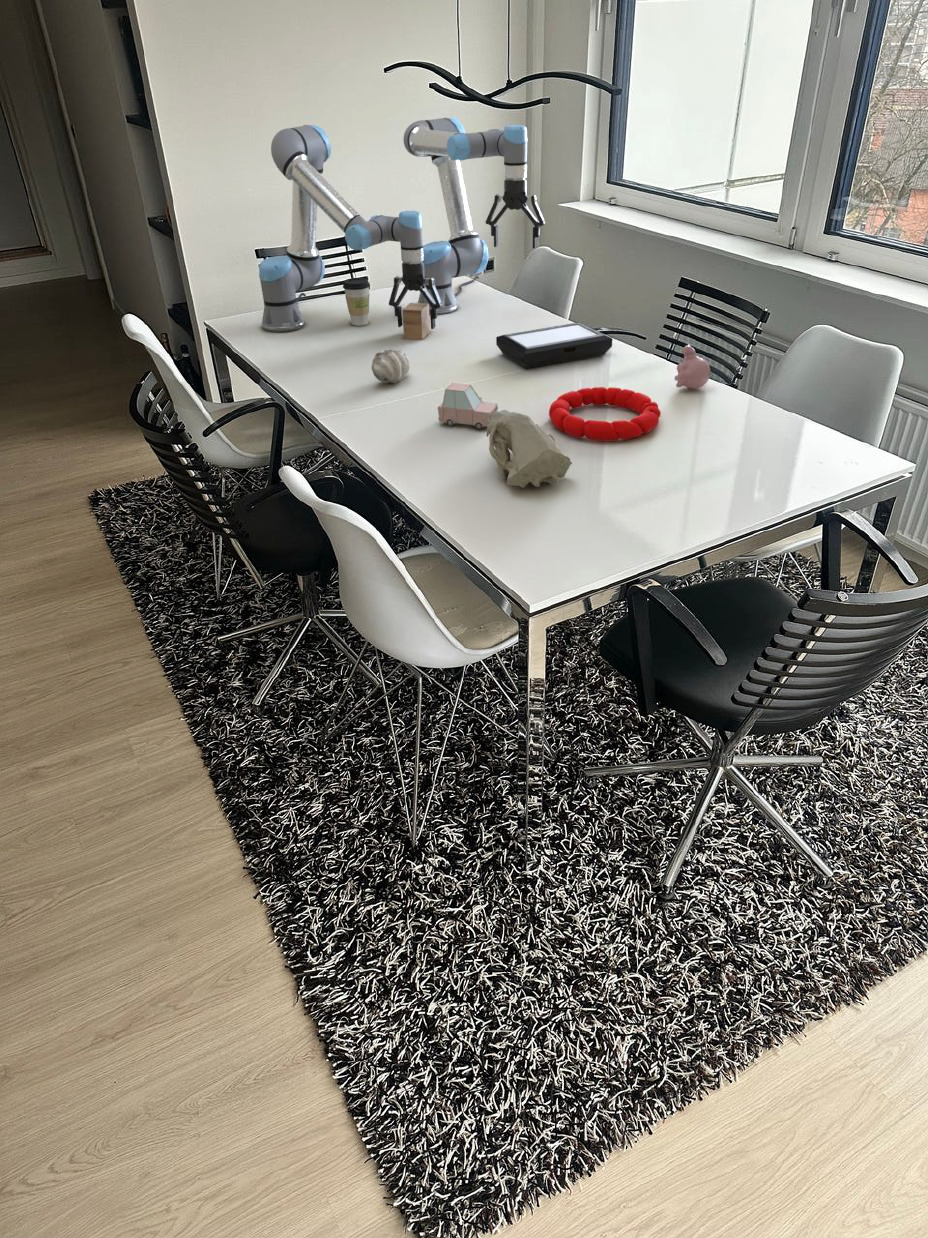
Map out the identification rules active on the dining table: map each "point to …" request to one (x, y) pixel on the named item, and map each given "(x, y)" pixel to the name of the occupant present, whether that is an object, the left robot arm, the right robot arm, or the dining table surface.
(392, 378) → the seashell
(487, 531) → the dining table surface
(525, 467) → the grey rough stone chunk
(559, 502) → the dining table surface
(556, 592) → the dining table surface
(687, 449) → the dining table surface
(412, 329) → the block
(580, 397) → the decorative ring
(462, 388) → the toy car
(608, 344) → the electronic device
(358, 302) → the coffee cup
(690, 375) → the figurine
